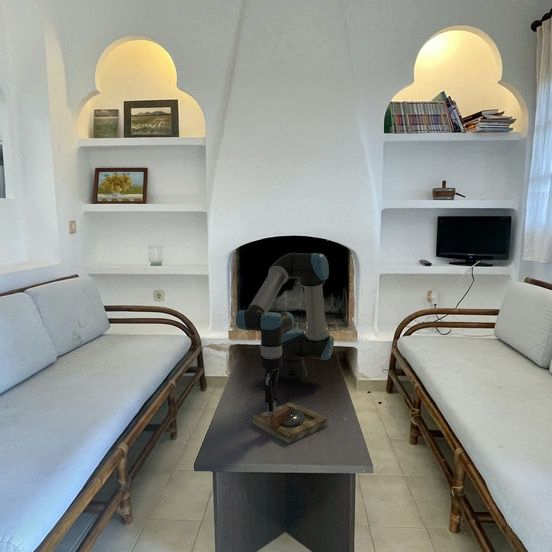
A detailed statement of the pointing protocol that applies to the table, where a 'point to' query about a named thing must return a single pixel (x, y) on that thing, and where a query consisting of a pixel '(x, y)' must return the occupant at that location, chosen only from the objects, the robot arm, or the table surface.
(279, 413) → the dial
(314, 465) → the table surface
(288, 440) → the panel
